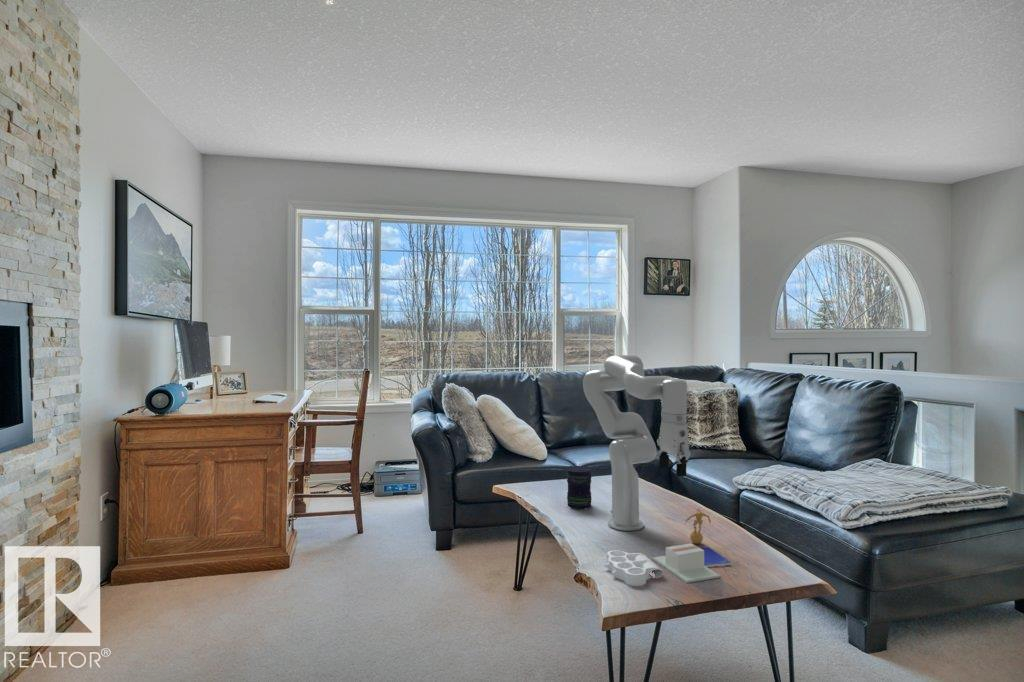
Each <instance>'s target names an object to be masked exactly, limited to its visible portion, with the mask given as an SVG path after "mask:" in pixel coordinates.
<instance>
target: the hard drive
mask: <svg viewBox="0 0 1024 682" xmlns="http://www.w3.org/2000/svg"><path fill="white" fill-rule="evenodd" d="M700 548H701V549H703V550H704V566H706V567H707V568H715V567H714V566H719V567H726V566H725V565H731V566H732V562H731V561H730V560H728V559H727V558H725V557H724V556H722V555H721V554H719V553H718V552H716V551H715V550H714V549H712V548H710V547H709V546H703V547H700Z"/></svg>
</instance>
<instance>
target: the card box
mask: <svg viewBox="0 0 1024 682" xmlns="http://www.w3.org/2000/svg"><path fill="white" fill-rule="evenodd" d="M665 556H666V565H668V566H669V567H671V568H673V569H674V570H676V571H677V572H683V571H688V570H694V569H699V568H704V550H703V549H701V547H698V546H697V545H695V544H694V543H691V542H690V543H684V544H678V545H672V546H671V545H670V546H665Z"/></svg>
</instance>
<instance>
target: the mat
mask: <svg viewBox="0 0 1024 682" xmlns="http://www.w3.org/2000/svg"><path fill="white" fill-rule="evenodd" d="M652 560H653V561H654V560H655V563H657V562H658V563H657V564H659V565H660V564H661V565H660V566H661V567H663V568H664V567H665V568H664V569H666V570H667V571H669V572H670V573H672V574H674V575H675V576H676V577H678V579H680V580H682V581H683V582H685V583H686V584H688V583H694V582H695V583H696V582H700V581H708V580H713V579H718V578H719V579H720V578H721V575H720V574H719V573H717V572H715V571H714V570H712V569H711V568H710V567H706V566H704V568H699V569H694V570H688V571H683V572H677V571H676V570H674V569H673V568H671V567H669V566H668V565H666V555H663V556H662V555H660V556H655V557H652Z"/></svg>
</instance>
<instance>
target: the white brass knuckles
mask: <svg viewBox="0 0 1024 682" xmlns="http://www.w3.org/2000/svg"><path fill="white" fill-rule="evenodd" d="M603 566H604V567H605V568H607V569H608V572H610V571H611V572H610V574H611V575H613V577H614V576H615V577H614V578H616V579H617V578H618V580H622V581H623V582H625V584H626V585H628V586H633V587H634V586H635V587H639V586H644V585H646V583H647V580H651V579H650V578H653V579H654V577H653V576H651V575H650V574H649V573H650V572H651V571H652V573H653V572H654V574H655V578H656V579H659V578H661V577H663V576H664V570H663V568H661V567H659V566H658V565H657V564H656V563H655V562H654V561H652V560H651V559H649V558H648V556H647V555H645V554H644V553H642V552H631V553H630V552H626V551H623V550H615V549H614V550H609V551H608V552H607V553H606V563H605V564H603Z"/></svg>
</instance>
